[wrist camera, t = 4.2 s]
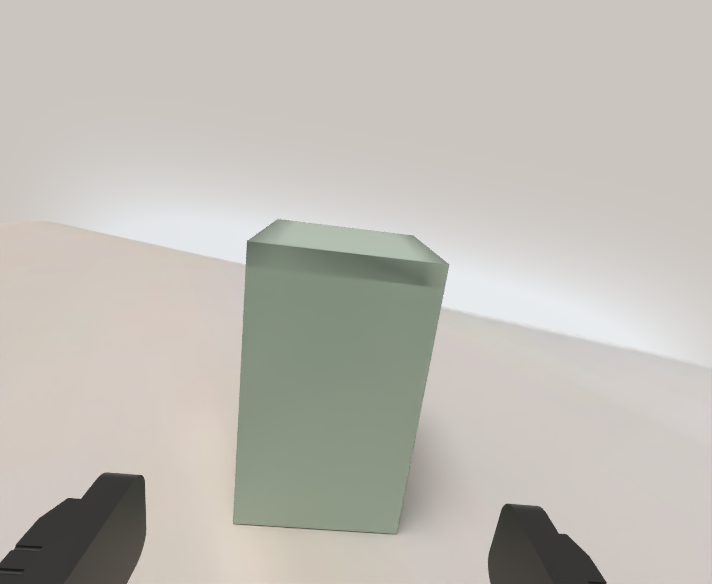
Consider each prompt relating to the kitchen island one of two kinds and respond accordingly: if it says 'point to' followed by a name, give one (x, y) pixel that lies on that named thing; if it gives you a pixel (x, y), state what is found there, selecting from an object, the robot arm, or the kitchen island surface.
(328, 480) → the tall sage green box
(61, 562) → the robot arm
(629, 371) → the kitchen island surface
